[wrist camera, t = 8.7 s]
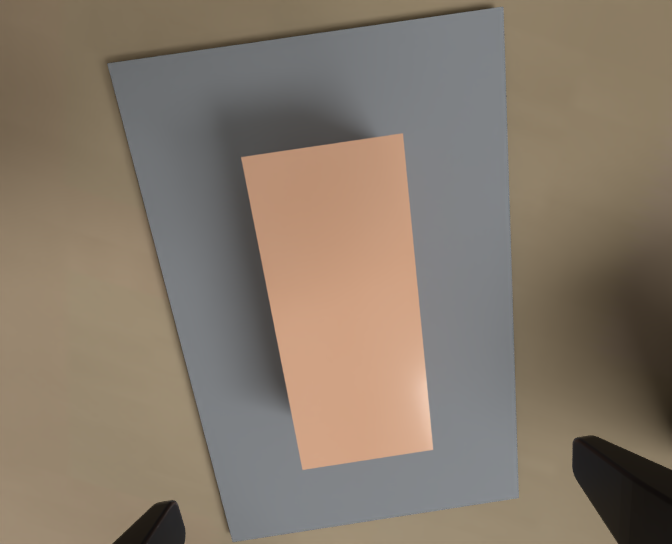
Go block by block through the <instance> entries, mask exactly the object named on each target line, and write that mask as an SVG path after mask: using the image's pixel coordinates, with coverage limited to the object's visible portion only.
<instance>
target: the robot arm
mask: <svg viewBox="0 0 672 544" xmlns="http://www.w3.org/2000/svg"><path fill="white" fill-rule="evenodd" d="M572 468H573V473H574V476H575V478H576V480H577V481H578V483H579V485H580V486H581V488H582V489H583V491H584V492H585V494H586V495H587V497H588V498H589V500H590V501H591V503H592V504H593V506H594V508H595V509H596V511H597V512H598V514H599V515H600V517H601V518H602V520H603V521H604V523H605V524H606V526H607V527H608V529H609V530H610V532H611V534H612V535H613V537H614V538H615V540H616V541H617V543H618V544H672V470H671V469H668V468H666V467H664V466H662V465H659V464H657V463H655V462H653V461H650V460H648V459H646V458H644V457H641V456H639V455H637V454H635V453H632V452H630V451H628V450H626V449H623V448H621V447H619V446H617V445H615V444H612V443H610V442H608V441H606V440H603V439H601V438H599V437H596V436H591V435H590V436H583V437H577V438H575V439H574V441H573V458H572ZM184 543H185V526H184V523H183V520H182V516H181V513H180V510H179V506H178V504H177V502H176V501H174V500H170V501H164V502H158V503H156V504H154V505H153V506H152V507H151V508H150V509H149V510H148V511H147V512H146V513H145V514H143V515H142V516H141V517H140V518H139V519H138V520H137V521H136V522H135V523H134V524H133V525H132V526H131V527H130V528H129V529H128V530H126V531H125V532H124V533H123V534H122V535H121V536H120V537H119V538H118V539H117V540H116V541H115V542H114V543H113V544H184Z"/></svg>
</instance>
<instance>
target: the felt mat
mask: <svg viewBox="0 0 672 544" xmlns="http://www.w3.org/2000/svg"><path fill="white" fill-rule="evenodd" d="M107 64H108V68H109V72H110V75H111V79H112V83H113V87H114V91H115V95H116V98H117V102H118V106H119V110H120V114H121V117H122V121H123V125H124V129H125V133H126V137H127V140H128V144H129V148H130V152H131V156H132V159H133V163H134V167H135V171H136V175H137V179H138V182H139V186H140V190H141V194H142V198H143V201H144V205H145V209H146V213H147V217H148V221H149V224H150V228H151V232H152V236H153V240H154V243H155V247H156V251H157V255H158V259H159V263H160V266H161V270H162V274H163V278H164V282H165V285H166V289H167V293H168V297H169V301H170V305H171V308H172V312H173V316H174V320H175V324H176V327H177V331H178V335H179V339H180V343H181V347H182V350H183V354H184V358H185V362H186V366H187V369H188V373H189V377H190V381H191V385H192V389H193V392H194V396H195V400H196V404H197V408H198V411H199V415H200V419H201V423H202V427H203V431H204V434H205V438H206V442H207V446H208V450H209V453H210V457H211V461H212V465H213V469H214V473H215V476H216V480H217V484H218V488H219V492H220V495H221V499H222V503H223V507H224V511H225V515H226V518H227V522H228V526H229V530H230V534H231V537H232V541H233V542H237V541H243V540H250V539H256V538H263V537H269V536H276V535H282V534H289V533H295V532H302V531H308V530H314V529H321V528H327V527H334V526H340V525H347V524H353V523H360V522H366V521H373V520H379V519H386V518H392V517H399V516H405V515H411V514H418V513H424V512H431V511H437V510H444V509H450V508H457V507H463V506H470V505H476V504H483V503H489V502H495V501H502V500H508V499H515V498H519V490H518V458H517V426H516V394H515V362H514V331H513V299H512V267H511V235H510V203H509V171H508V139H507V107H506V75H505V44H504V12H503V7H498V8H491V9H484V10H477V11H470V12H463V13H456V14H449V15H442V16H435V17H428V18H421V19H414V20H407V21H400V22H393V23H386V24H379V25H372V26H365V27H358V28H351V29H344V30H337V31H330V32H323V33H316V34H309V35H302V36H295V37H289V38H282V39H275V40H268V41H261V42H254V43H247V44H240V45H233V46H226V47H219V48H212V49H205V50H198V51H191V52H184V53H177V54H170V55H163V56H156V57H149V58H142V59H135V60H128V61H121V62H114V63H107ZM401 133H403V140H404V150H405V160H406V171H407V181H408V192H409V202H410V213H411V223H412V233H413V244H414V254H415V265H416V275H417V286H418V296H419V306H420V317H421V327H422V338H423V348H424V358H425V369H426V379H427V390H428V400H429V411H430V421H431V431H432V442H433V450H428V451H422V452H415V453H409V454H402V455H396V456H390V457H383V458H377V459H370V460H364V461H357V462H351V463H344V464H338V465H331V466H325V467H318V468H312V469H306V470H302V465H301V460H300V454H299V449H298V444H297V439H296V434H295V429H294V424H293V419H292V414H291V409H290V404H289V398H288V393H287V388H286V383H285V378H284V373H283V368H282V363H281V358H280V353H279V348H278V343H277V337H276V332H275V327H274V322H273V317H272V312H271V307H270V302H269V297H268V292H267V287H266V281H265V276H264V271H263V266H262V261H261V256H260V251H259V246H258V241H257V236H256V231H255V225H254V220H253V215H252V210H251V205H250V200H249V195H248V190H247V185H246V180H245V175H244V170H243V164H242V159H241V157H246V156H252V155H259V154H266V153H273V152H279V151H286V150H293V149H300V148H307V147H313V146H320V145H327V144H334V143H340V142H347V141H354V140H361V139H367V138H374V137H381V136H388V135H395V134H401Z"/></svg>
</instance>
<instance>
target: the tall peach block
mask: <svg viewBox="0 0 672 544" xmlns="http://www.w3.org/2000/svg"><path fill="white" fill-rule="evenodd" d="M241 159H242V164H243V170H244V175H245V180H246V185H247V190H248V195H249V200H250V205H251V210H252V215H253V220H254V225H255V231H256V236H257V241H258V246H259V251H260V256H261V261H262V266H263V271H264V276H265V281H266V287H267V292H268V297H269V302H270V307H271V312H272V317H273V322H274V327H275V332H276V337H277V343H278V348H279V353H280V358H281V363H282V368H283V373H284V378H285V383H286V388H287V393H288V398H289V404H290V409H291V414H292V419H293V424H294V429H295V434H296V439H297V444H298V449H299V454H300V460H301V465H302V470H306V469H312V468H318V467H325V466H331V465H338V464H344V463H351V462H357V461H364V460H370V459H377V458H383V457H390V456H396V455H402V454H409V453H415V452H422V451H428V450H433V442H432V431H431V421H430V411H429V400H428V390H427V379H426V369H425V358H424V348H423V338H422V327H421V317H420V306H419V296H418V286H417V275H416V265H415V254H414V244H413V233H412V223H411V213H410V202H409V192H408V181H407V171H406V160H405V150H404V140H403V133H401V134H395V135H388V136H381V137H374V138H367V139H361V140H354V141H347V142H340V143H334V144H327V145H320V146H313V147H307V148H300V149H293V150H286V151H279V152H273V153H266V154H259V155H252V156H246V157H241Z"/></svg>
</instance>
